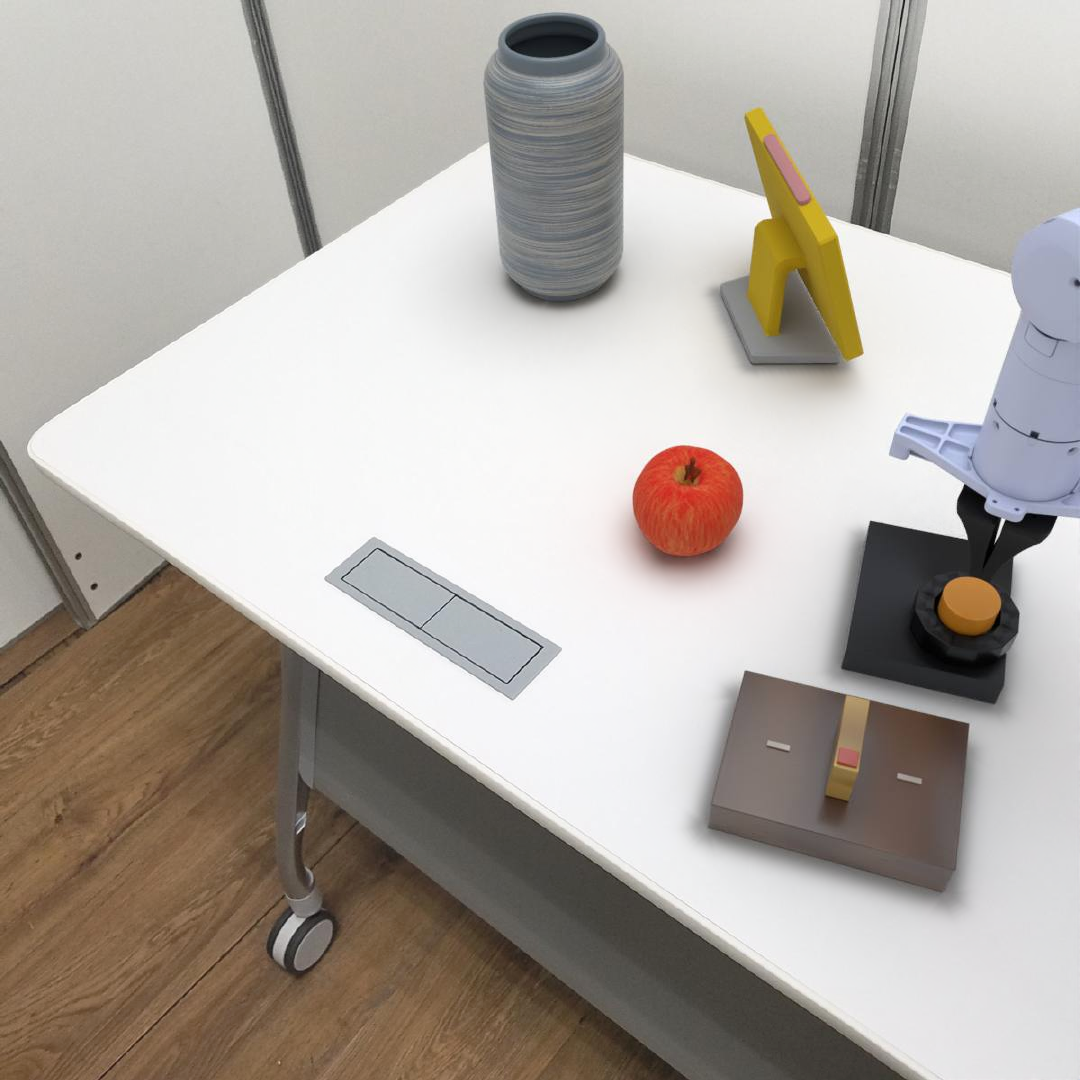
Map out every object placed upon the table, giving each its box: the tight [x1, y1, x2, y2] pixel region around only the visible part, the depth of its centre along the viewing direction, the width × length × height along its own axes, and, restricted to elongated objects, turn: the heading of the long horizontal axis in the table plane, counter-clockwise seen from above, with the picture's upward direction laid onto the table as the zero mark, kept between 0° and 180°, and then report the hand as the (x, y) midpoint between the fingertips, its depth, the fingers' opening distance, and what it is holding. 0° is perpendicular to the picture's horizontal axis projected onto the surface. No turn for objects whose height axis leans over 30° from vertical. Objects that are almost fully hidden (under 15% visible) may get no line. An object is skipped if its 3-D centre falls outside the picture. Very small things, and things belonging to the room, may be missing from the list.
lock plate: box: [707, 669, 970, 893], centre depth 67 cm, size 14×10×3 cm
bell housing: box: [840, 520, 1020, 705], centre depth 75 cm, size 10×12×4 cm
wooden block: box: [825, 694, 870, 801], centre depth 65 cm, size 5×1×4 cm, turn 161°
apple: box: [631, 444, 744, 557], centre depth 80 cm, size 8×8×8 cm
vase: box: [482, 11, 625, 302], centre depth 97 cm, size 12×12×23 cm
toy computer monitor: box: [719, 106, 865, 364], centre depth 93 cm, size 20×8×16 cm, turn 9°
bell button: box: [938, 577, 1001, 636], centre depth 72 cm, size 4×4×2 cm
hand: (984, 568), depth 69 cm, fingers closed
